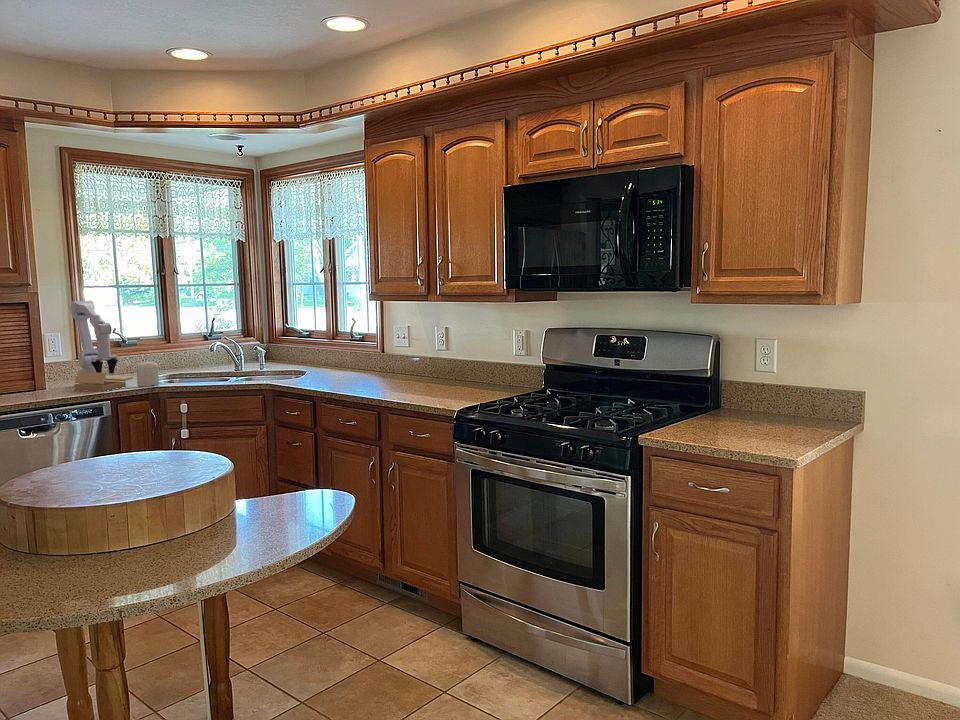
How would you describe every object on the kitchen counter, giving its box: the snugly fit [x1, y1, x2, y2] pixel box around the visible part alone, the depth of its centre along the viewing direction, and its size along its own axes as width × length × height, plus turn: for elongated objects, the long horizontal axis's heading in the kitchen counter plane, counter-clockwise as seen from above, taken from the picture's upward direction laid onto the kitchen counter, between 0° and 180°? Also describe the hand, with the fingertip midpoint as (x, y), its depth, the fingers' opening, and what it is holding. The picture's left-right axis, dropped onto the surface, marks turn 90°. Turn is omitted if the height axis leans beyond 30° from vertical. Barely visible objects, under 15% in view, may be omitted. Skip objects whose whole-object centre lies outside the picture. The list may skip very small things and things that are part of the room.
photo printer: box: [136, 361, 160, 387], centre depth 376 cm, size 10×4×12 cm, turn 123°
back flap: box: [105, 374, 134, 382], centre depth 375 cm, size 17×6×1 cm, turn 71°
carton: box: [73, 380, 127, 392], centre depth 366 cm, size 18×14×3 cm
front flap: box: [74, 371, 108, 384], centre depth 360 cm, size 17×6×1 cm
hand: (105, 374), depth 369 cm, fingers open, 7 cm apart
